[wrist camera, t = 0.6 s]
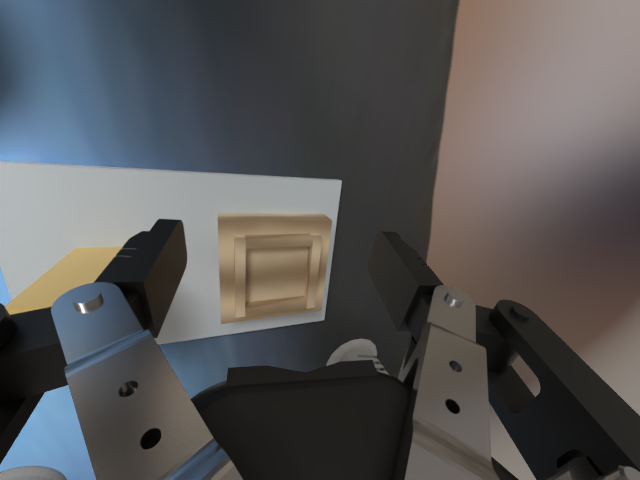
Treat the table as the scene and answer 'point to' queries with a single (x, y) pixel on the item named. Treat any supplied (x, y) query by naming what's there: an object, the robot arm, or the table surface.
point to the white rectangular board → (147, 226)
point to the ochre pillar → (63, 278)
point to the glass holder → (31, 474)
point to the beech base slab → (271, 264)
